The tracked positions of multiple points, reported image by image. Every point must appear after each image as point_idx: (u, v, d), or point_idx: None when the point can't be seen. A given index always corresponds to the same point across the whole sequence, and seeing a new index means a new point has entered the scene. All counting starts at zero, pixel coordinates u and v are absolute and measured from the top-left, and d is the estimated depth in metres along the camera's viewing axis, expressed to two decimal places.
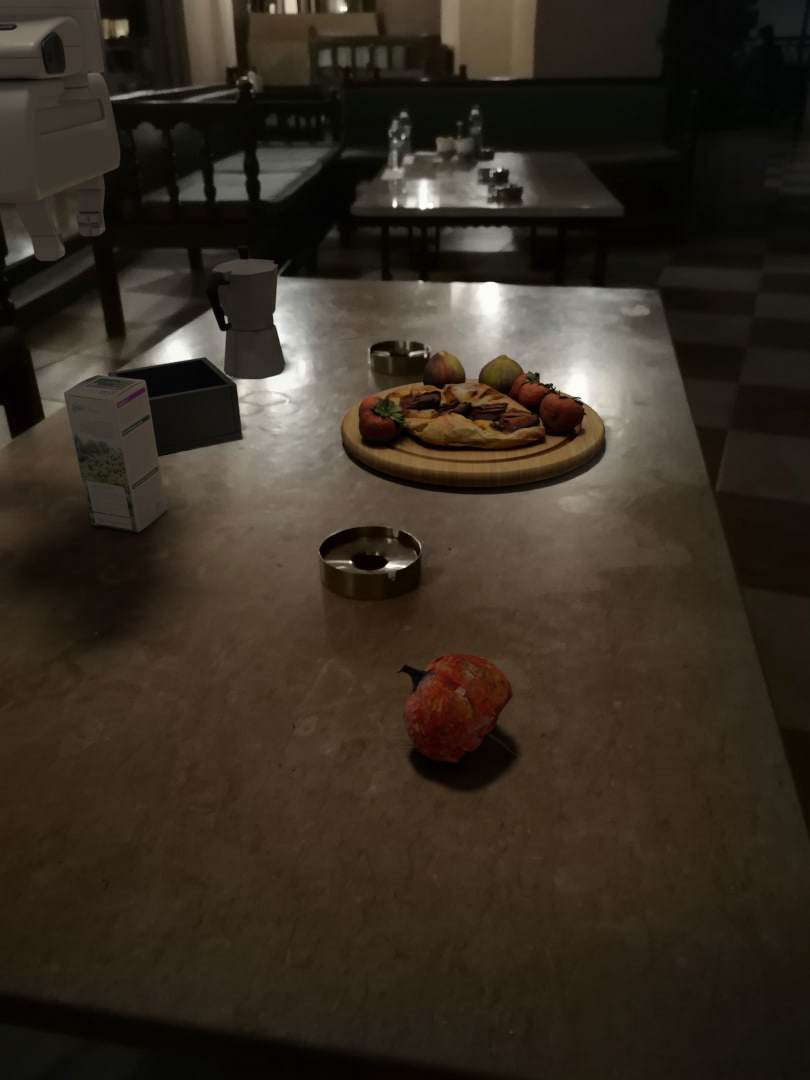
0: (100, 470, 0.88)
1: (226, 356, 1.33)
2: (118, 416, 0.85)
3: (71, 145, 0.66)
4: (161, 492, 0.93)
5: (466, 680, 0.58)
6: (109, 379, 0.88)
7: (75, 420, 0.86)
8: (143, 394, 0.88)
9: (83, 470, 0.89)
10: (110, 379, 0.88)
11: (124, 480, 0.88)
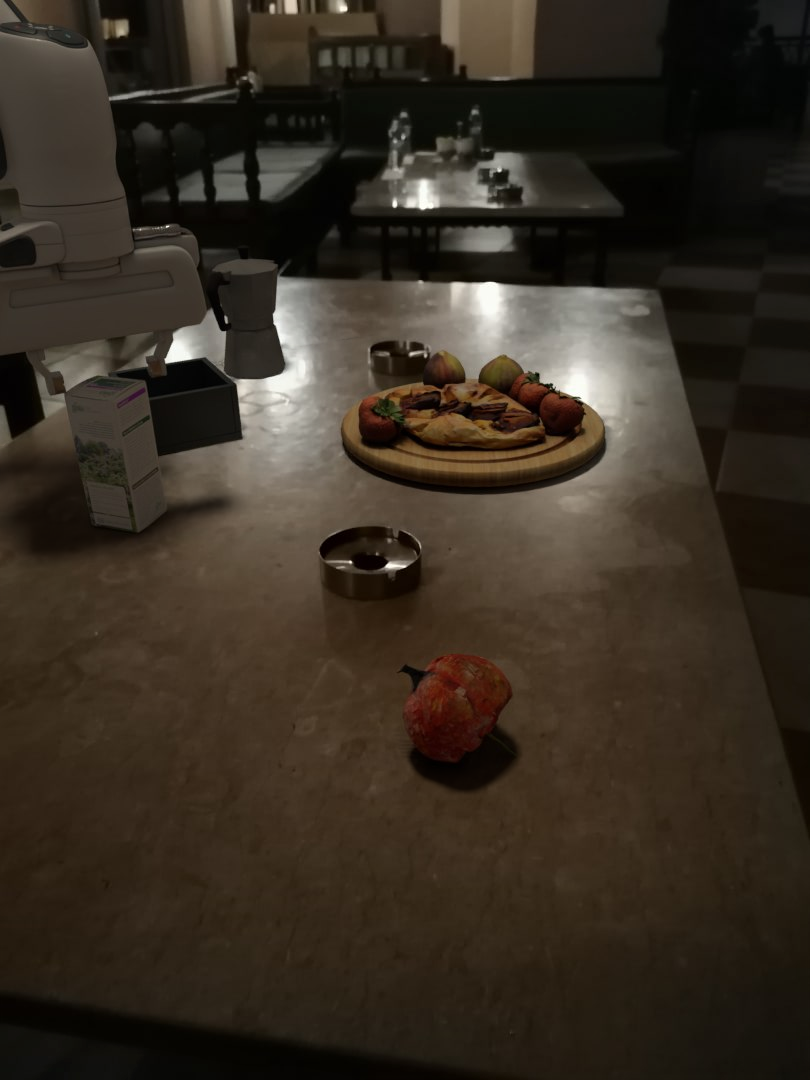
0: (100, 470, 0.88)
1: (226, 356, 1.33)
2: (118, 416, 0.85)
3: (80, 312, 0.81)
4: (161, 492, 0.93)
5: (466, 680, 0.58)
6: (109, 379, 0.88)
7: (75, 420, 0.86)
8: (143, 394, 0.88)
9: (83, 470, 0.89)
10: (110, 379, 0.88)
11: (124, 480, 0.88)
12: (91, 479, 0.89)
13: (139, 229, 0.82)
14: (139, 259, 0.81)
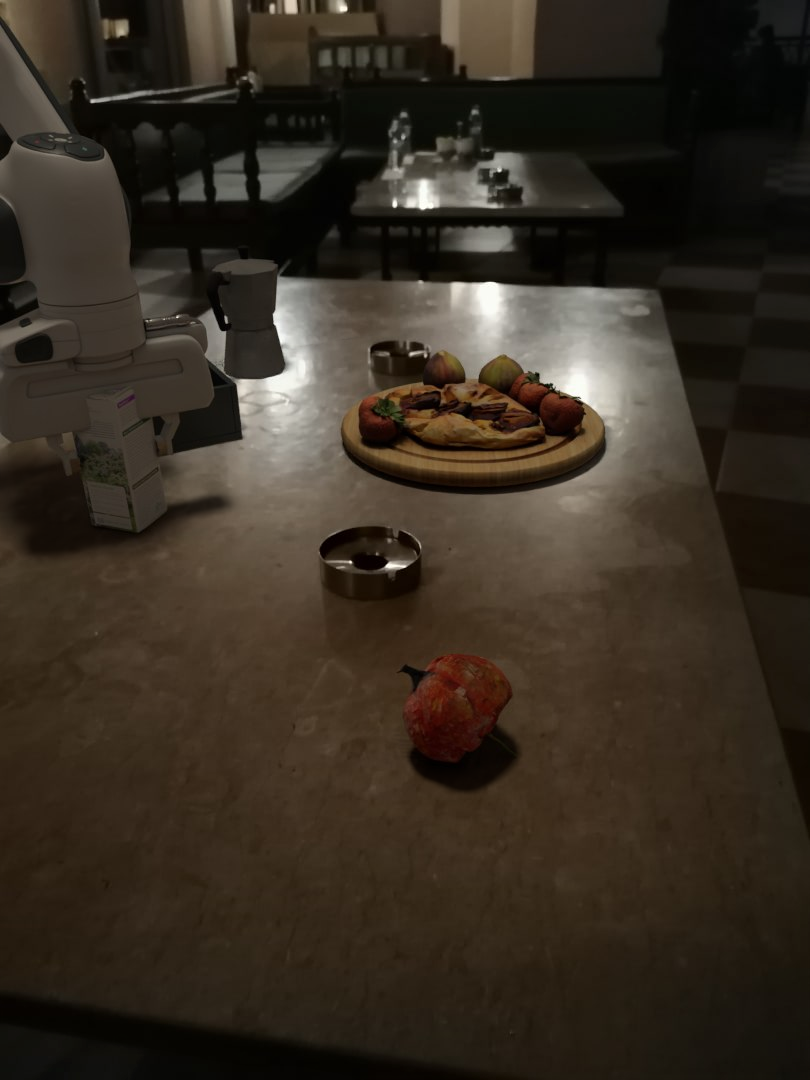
0: (101, 470, 0.88)
1: (226, 356, 1.33)
2: (119, 416, 0.85)
3: None
4: (162, 492, 0.93)
5: (466, 680, 0.58)
6: None
7: None
8: None
9: (83, 470, 0.89)
10: None
11: (125, 480, 0.88)
12: (91, 479, 0.89)
13: (151, 320, 0.86)
14: (150, 349, 0.85)
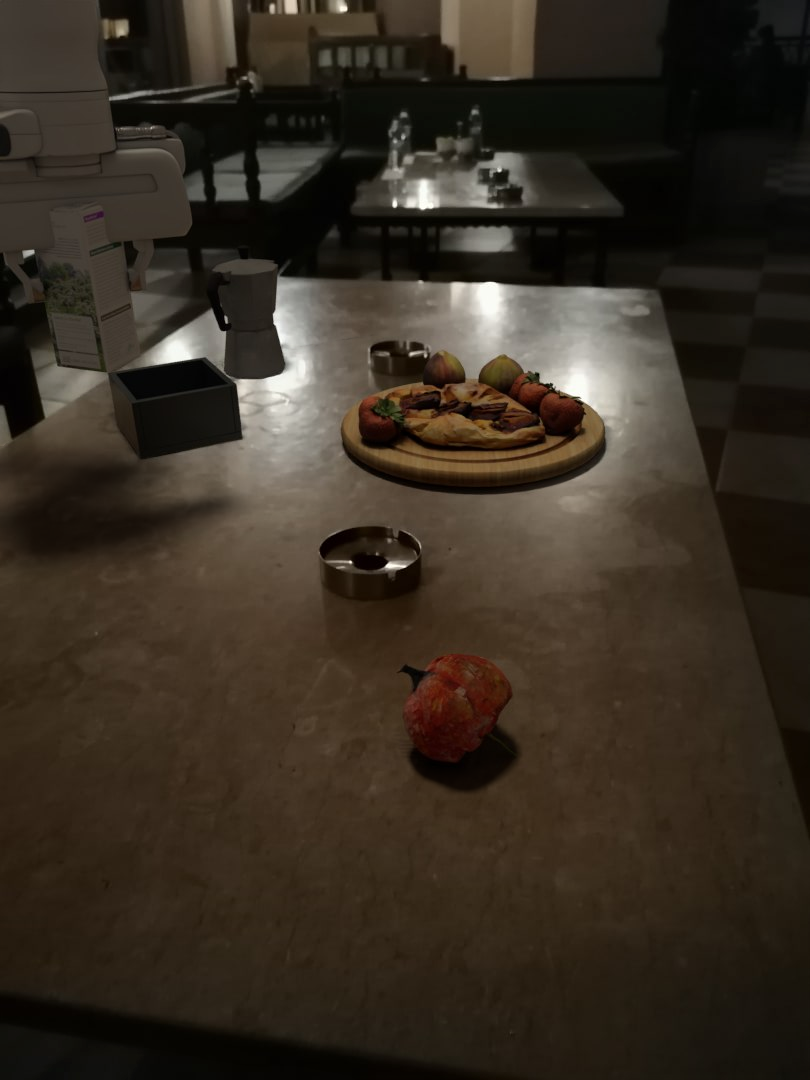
0: (66, 298, 0.80)
1: (226, 356, 1.33)
2: (85, 232, 0.77)
3: None
4: (134, 333, 0.85)
5: (466, 680, 0.58)
6: None
7: None
8: None
9: (47, 300, 0.81)
10: None
11: (92, 309, 0.80)
12: (56, 310, 0.81)
13: (122, 128, 0.78)
14: (121, 160, 0.77)
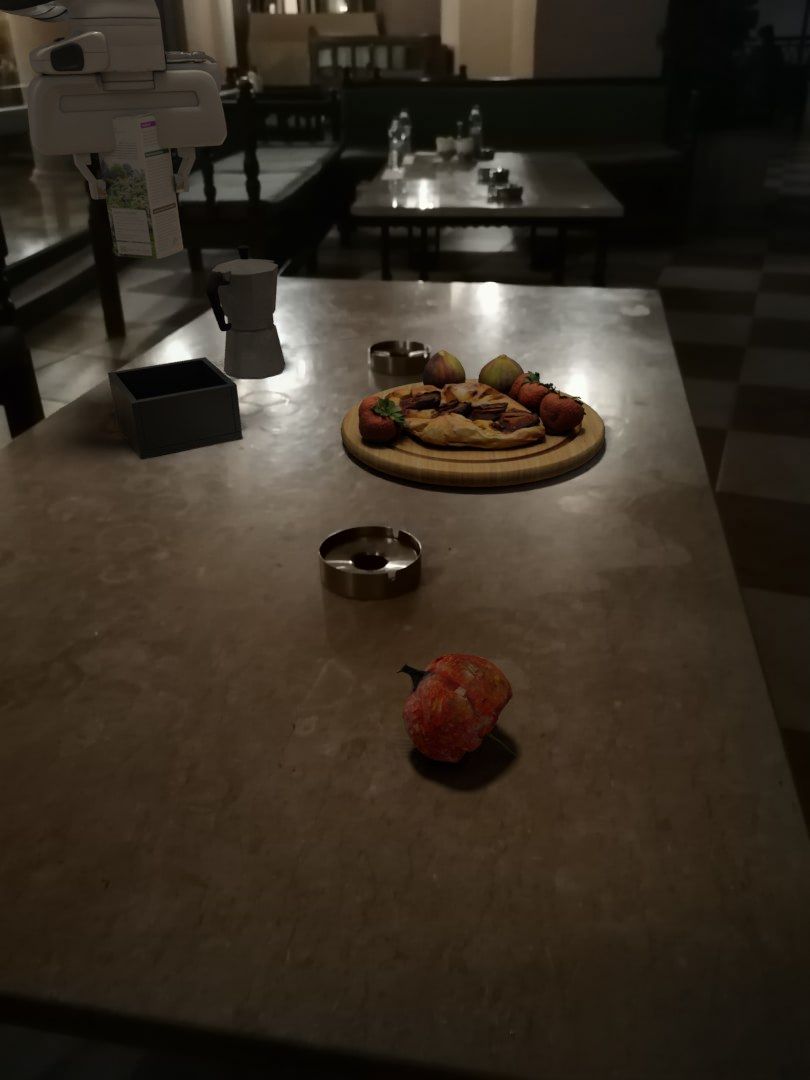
0: (124, 194, 0.97)
1: (226, 356, 1.33)
2: (142, 136, 0.94)
3: None
4: (178, 229, 1.02)
5: (466, 680, 0.58)
6: None
7: None
8: None
9: (108, 197, 0.98)
10: None
11: (146, 202, 0.97)
12: (115, 205, 0.98)
13: (170, 52, 0.95)
14: (170, 78, 0.94)
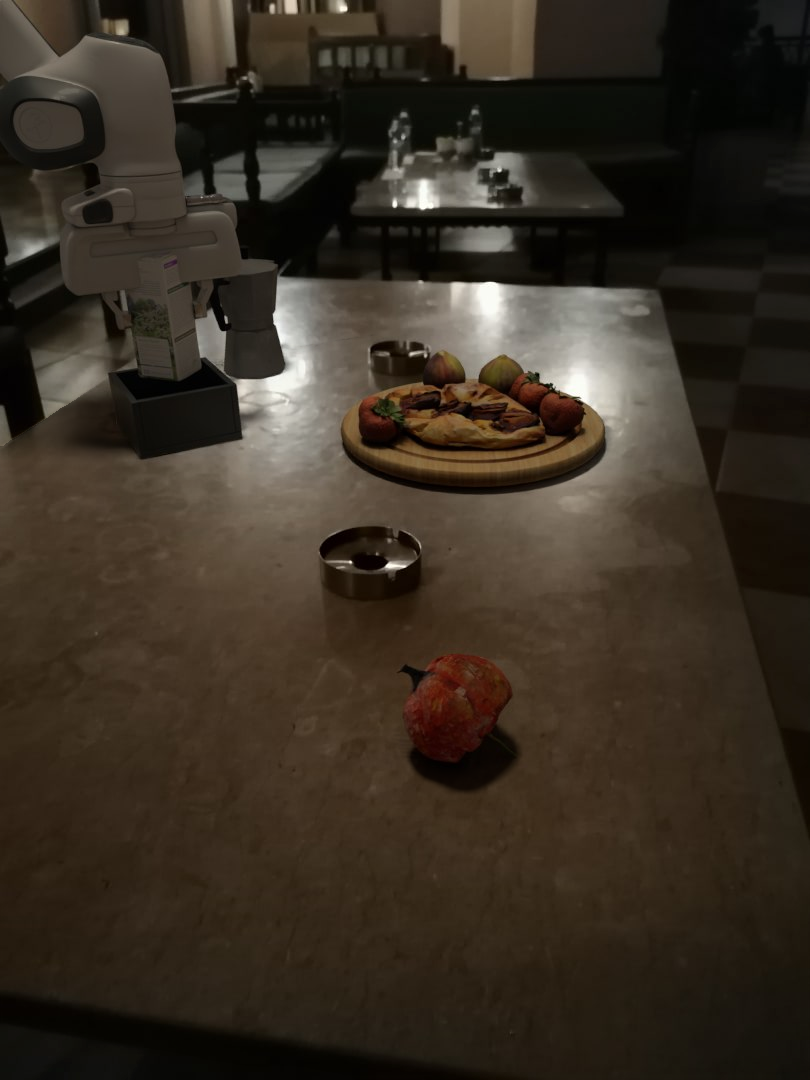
0: (148, 325, 1.05)
1: (226, 356, 1.33)
2: (165, 276, 1.02)
3: None
4: (197, 351, 1.11)
5: (466, 680, 0.58)
6: None
7: None
8: None
9: (133, 326, 1.06)
10: None
11: (168, 333, 1.05)
12: (140, 334, 1.06)
13: (191, 197, 1.03)
14: (191, 221, 1.02)
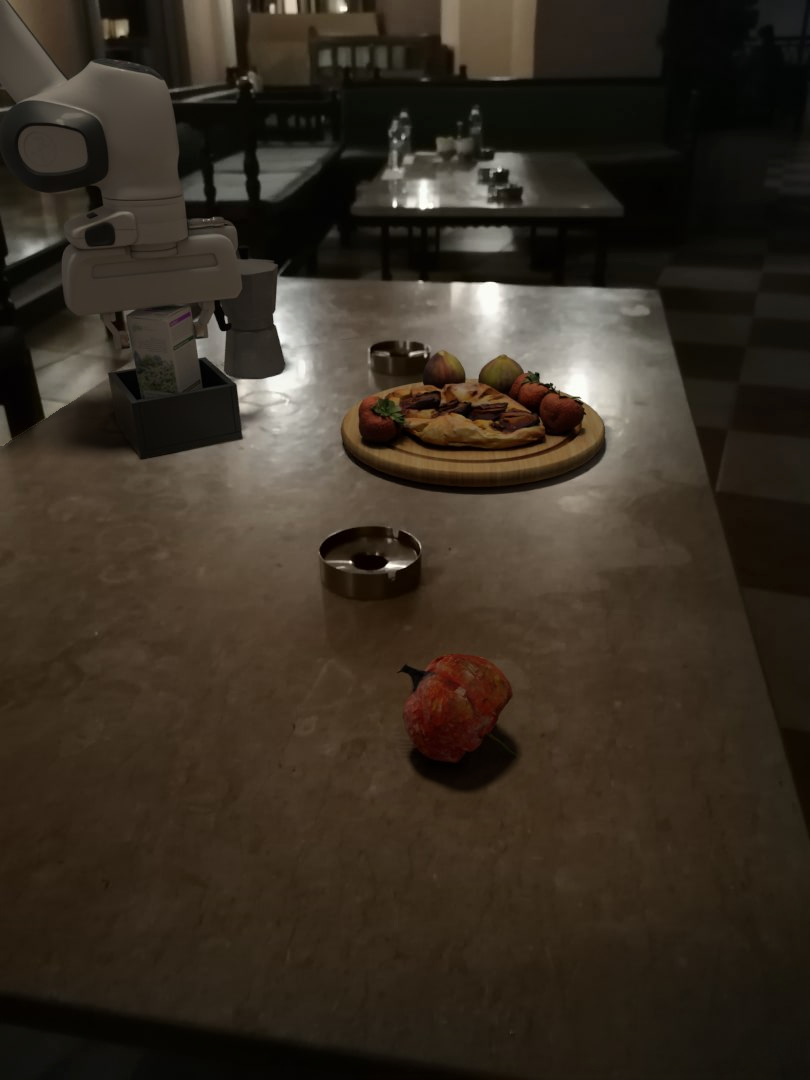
0: (155, 380, 1.08)
1: (226, 356, 1.33)
2: (170, 333, 1.05)
3: (144, 284, 1.03)
4: None
5: (466, 680, 0.58)
6: None
7: (135, 338, 1.06)
8: (189, 317, 1.08)
9: (140, 381, 1.09)
10: None
11: (175, 387, 1.08)
12: (147, 388, 1.09)
13: (192, 220, 1.04)
14: (192, 244, 1.04)
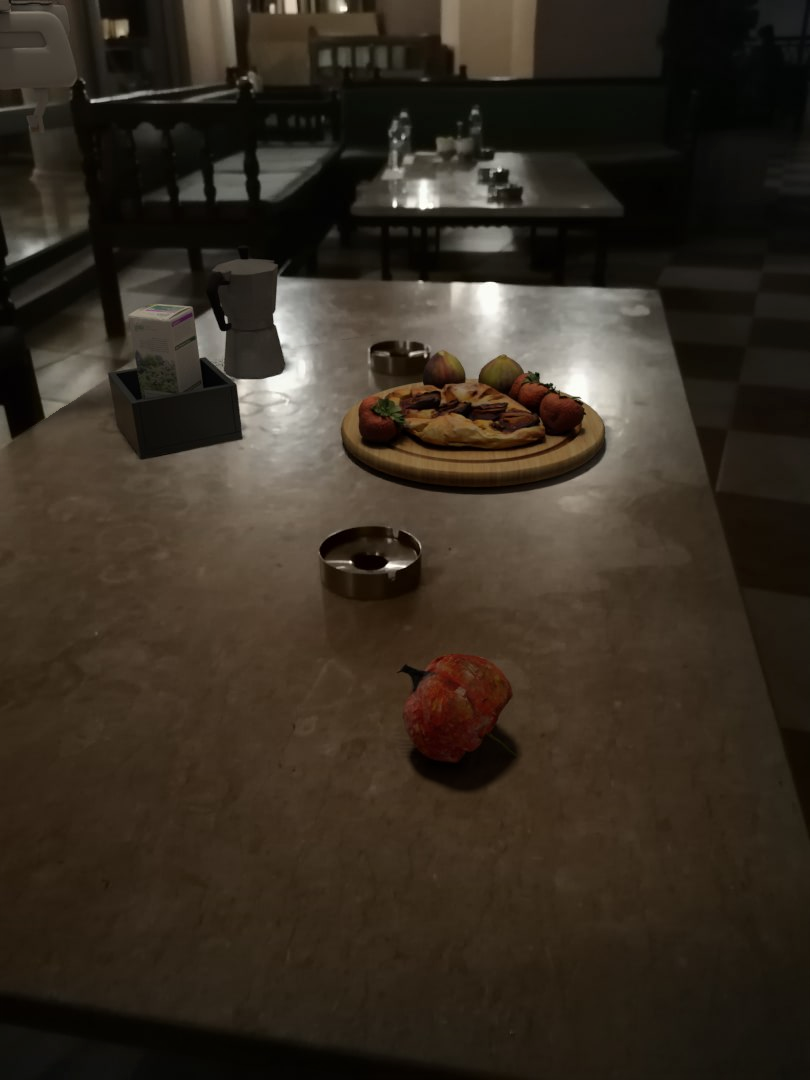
0: (156, 379, 1.08)
1: (226, 356, 1.33)
2: (172, 333, 1.05)
3: None
4: None
5: (466, 680, 0.58)
6: (163, 306, 1.08)
7: (136, 338, 1.06)
8: (191, 318, 1.08)
9: (141, 380, 1.09)
10: (164, 306, 1.08)
11: (176, 387, 1.08)
12: (148, 388, 1.09)
13: None
14: (14, 18, 0.97)
